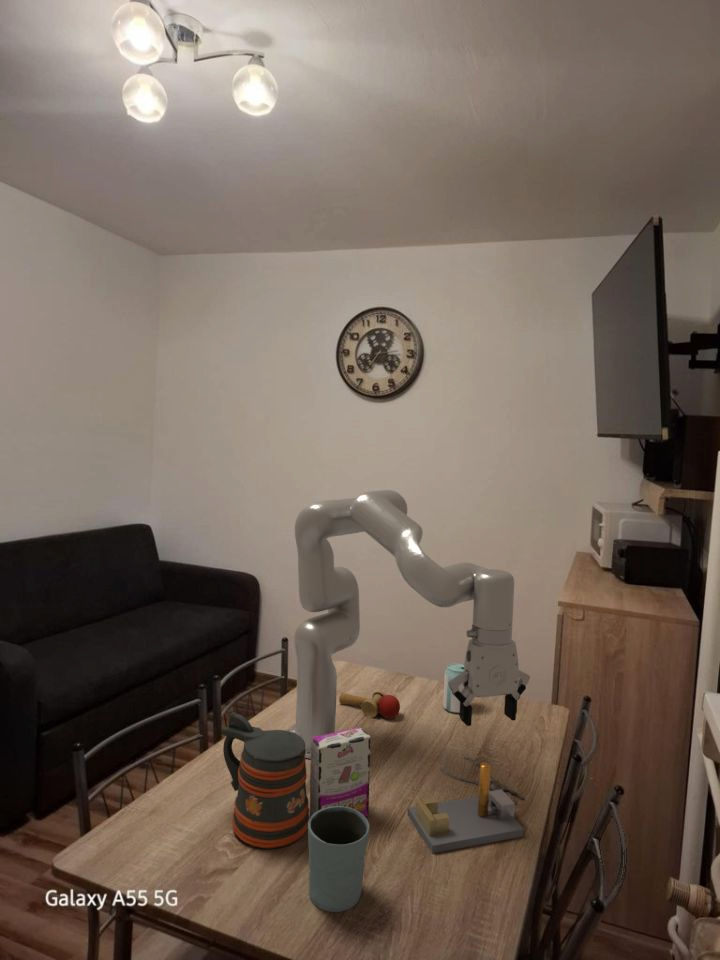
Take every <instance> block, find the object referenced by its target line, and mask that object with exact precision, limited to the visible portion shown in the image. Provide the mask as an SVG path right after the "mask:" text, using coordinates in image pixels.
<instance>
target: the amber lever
mask: <svg viewBox="0 0 720 960" xmlns="http://www.w3.org/2000/svg"><path fill="white" fill-rule="evenodd" d="M491 766H492V765H491V764H490V763H488V762H485V761H484V762H480V767H479V777H478V779H479V780H478V781H479V785H478V796H479V797H478V815H479V816H482V817H486V816H488V815H491V814H492V813H493V814H497V813H498V807H497V806H494V807H491V808H490V807H488V805H489V791H490V790H489V786H490V784H491V783H490V776H491V769H492V767H491Z"/></svg>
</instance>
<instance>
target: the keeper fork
mask: <svg viewBox="0 0 720 960" xmlns="http://www.w3.org/2000/svg"><path fill="white" fill-rule="evenodd" d="M438 803H439V801H438V800H437V799H436V797H435V796H434V797H429V798H428V797H427V798H422V799H416V800H415V806H416V810H415V815H416V817H417V818H418V820H419V821H420V823H421V824H422V826H423V827H424V829H425V831H426V832H427V834H428V835H429V836H433V835H439V834H444V833H449V818H450V817H449V816H448V815H447V813H440V814H437V813H438Z"/></svg>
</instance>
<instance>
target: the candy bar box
mask: <svg viewBox="0 0 720 960" xmlns="http://www.w3.org/2000/svg"><path fill="white" fill-rule="evenodd" d="M371 737H372V736H371V735H369V734H368V733H367V731H365V730H364V729H363V727H360V726H359V727H354V728H350V729H349V728H348V729H344V730H340V731H335V733H330V734H326V735H321V736H317V737H312V738H311V759H310V766H309V767H310V770H309V771H310V773H309V774H310V777H309V787H310V788H309V819H310V818H311V816H312V815H313V814H314V813H315V812H317V811H319V810H321V809H323V808H326V807H332V806H343V807H348V808H352V809H354V810H357V811H358V812H360V813H361V814H363V815H364V817H367V816H369V814H370V813H369V810H370V773H371V772H370V771H371V766H370V765H371Z"/></svg>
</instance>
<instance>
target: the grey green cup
mask: <svg viewBox="0 0 720 960" xmlns="http://www.w3.org/2000/svg"><path fill="white" fill-rule="evenodd" d="M307 835H308V836H307V840H308V841H307V846H308V847H307V848H308V854H309V855H308V859H309V860H308V869H309V872H308V893H309V894H308V895H309V899H310V900H311V902H312V903H313V904H314V905H315V907H317V908H318V909H320V910H322V911H326V912H329V913H340V912H344V911H348V910H350V909H352V908H353V907H354V906H356V905H357V904H358V902H359V900H360V898H361V894H362V888H363V879H364V871H365V869H364V868H365V862H366V860H365V856H366V854H367V847H368V841H369V835H370V823H369V821H368V819H367V818H366V816H364V815H363V814H361V813H360V812H358V811H357V810H354V809H352V808H348V807H343V806H332V807H326V808H323V809H321V810H319V811H317V812H315V813H314V814H313V815H312V816H311V818H310V817H309V822H308V829H307Z"/></svg>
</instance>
